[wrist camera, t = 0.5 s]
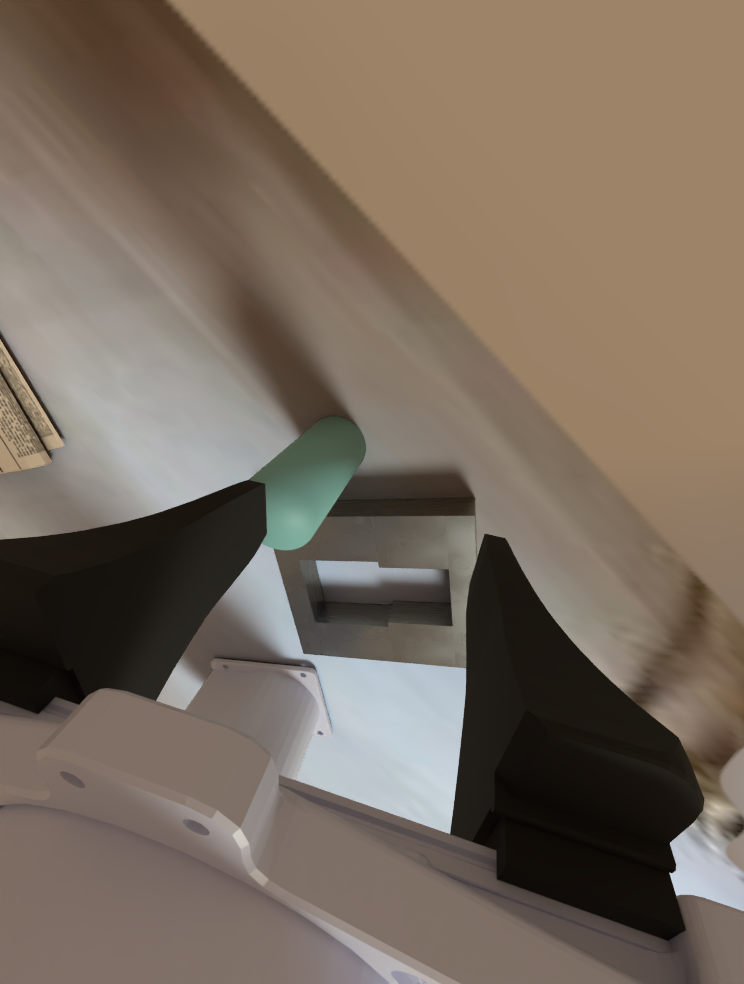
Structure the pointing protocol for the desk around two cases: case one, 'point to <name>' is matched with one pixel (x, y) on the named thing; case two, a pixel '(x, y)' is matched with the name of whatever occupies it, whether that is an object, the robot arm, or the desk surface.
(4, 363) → the newspaper
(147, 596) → the robot arm
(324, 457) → the peg
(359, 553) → the keyhole plate
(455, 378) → the desk surface
